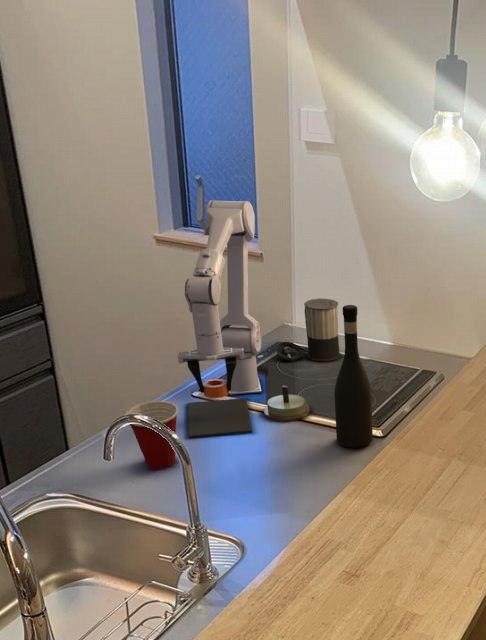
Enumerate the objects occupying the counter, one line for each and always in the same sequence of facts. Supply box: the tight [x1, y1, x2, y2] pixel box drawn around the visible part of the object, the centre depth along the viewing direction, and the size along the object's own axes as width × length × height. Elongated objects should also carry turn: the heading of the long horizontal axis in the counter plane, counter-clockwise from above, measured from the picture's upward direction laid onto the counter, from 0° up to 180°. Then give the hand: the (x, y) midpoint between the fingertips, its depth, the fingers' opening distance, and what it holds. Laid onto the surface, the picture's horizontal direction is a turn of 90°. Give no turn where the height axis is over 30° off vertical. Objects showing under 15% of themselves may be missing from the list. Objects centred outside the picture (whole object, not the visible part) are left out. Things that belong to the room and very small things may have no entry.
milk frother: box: [276, 298, 341, 362], centre depth 233 cm, size 14×16×15 cm
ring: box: [202, 378, 229, 399], centre depth 197 cm, size 6×6×3 cm
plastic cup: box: [124, 400, 179, 470], centre depth 177 cm, size 11×11×12 cm
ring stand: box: [263, 384, 311, 423], centre depth 202 cm, size 11×11×7 cm
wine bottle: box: [333, 304, 374, 449], centre depth 182 cm, size 8×8×30 cm
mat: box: [187, 397, 253, 439], centre depth 201 cm, size 20×14×1 cm
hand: (215, 390), depth 197 cm, fingers closed on ring, 5 cm apart
